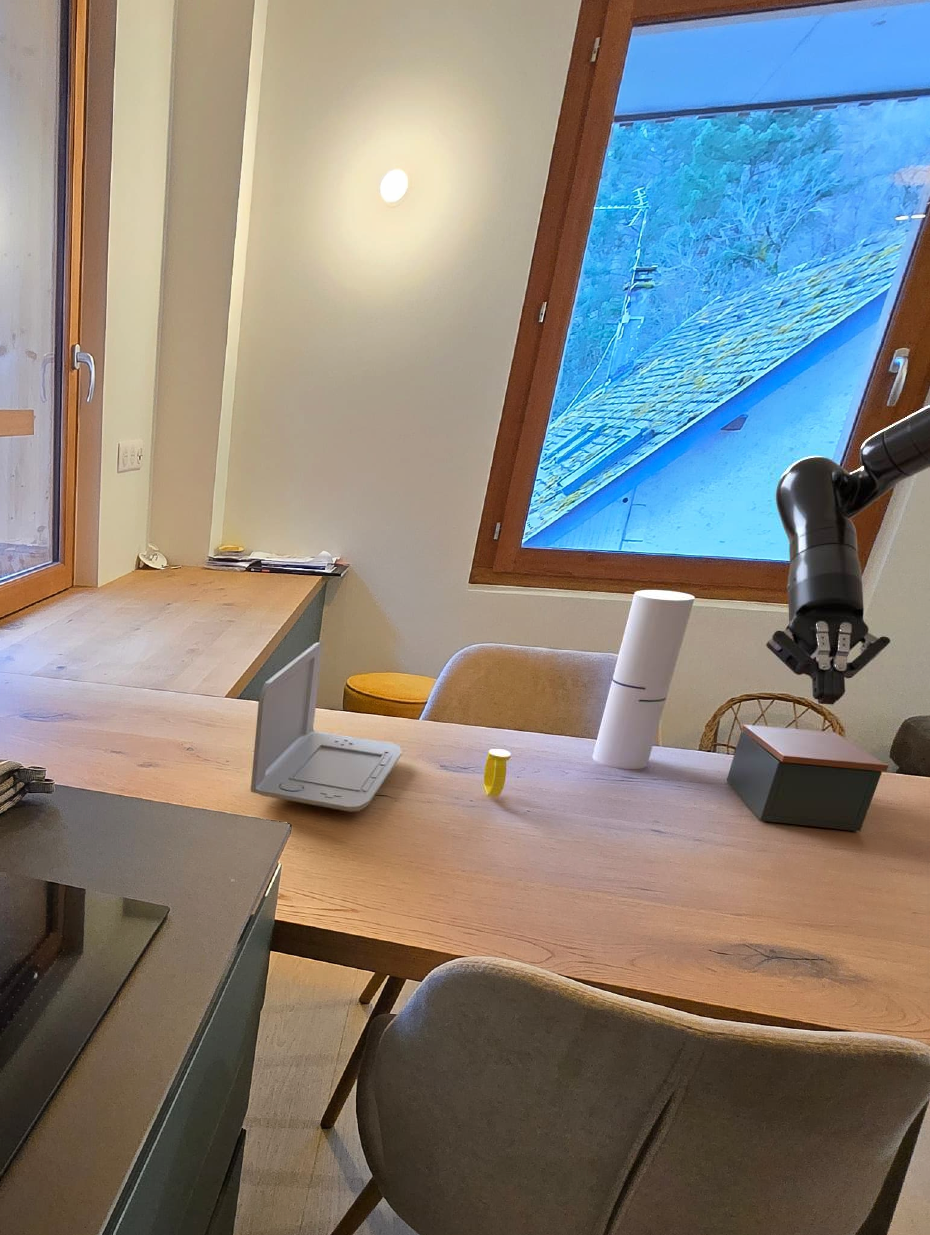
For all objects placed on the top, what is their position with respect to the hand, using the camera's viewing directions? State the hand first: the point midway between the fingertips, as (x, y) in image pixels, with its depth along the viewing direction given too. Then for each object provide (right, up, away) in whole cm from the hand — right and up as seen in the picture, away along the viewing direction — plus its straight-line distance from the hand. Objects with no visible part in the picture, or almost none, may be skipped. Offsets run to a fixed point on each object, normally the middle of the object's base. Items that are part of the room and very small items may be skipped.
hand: (829, 700), depth 120 cm
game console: (-57, -8, +17) cm, 60 cm away
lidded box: (+1, -13, +7) cm, 15 cm away
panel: (0, -6, +4) cm, 7 cm away
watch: (-37, -11, +11) cm, 40 cm away
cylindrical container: (-12, -6, +23) cm, 27 cm away
